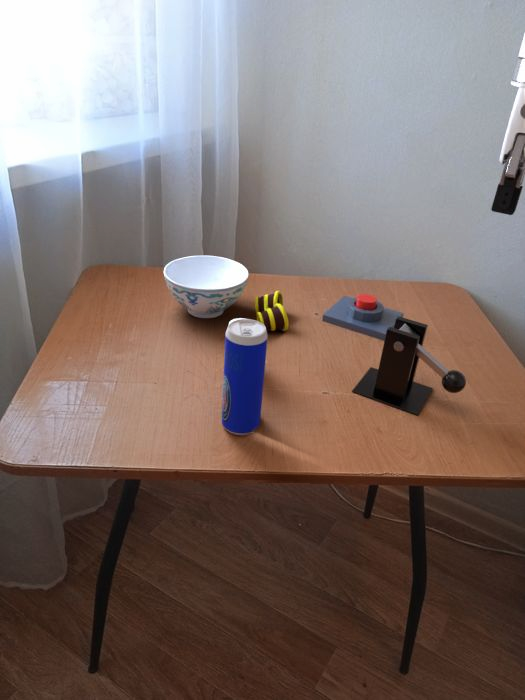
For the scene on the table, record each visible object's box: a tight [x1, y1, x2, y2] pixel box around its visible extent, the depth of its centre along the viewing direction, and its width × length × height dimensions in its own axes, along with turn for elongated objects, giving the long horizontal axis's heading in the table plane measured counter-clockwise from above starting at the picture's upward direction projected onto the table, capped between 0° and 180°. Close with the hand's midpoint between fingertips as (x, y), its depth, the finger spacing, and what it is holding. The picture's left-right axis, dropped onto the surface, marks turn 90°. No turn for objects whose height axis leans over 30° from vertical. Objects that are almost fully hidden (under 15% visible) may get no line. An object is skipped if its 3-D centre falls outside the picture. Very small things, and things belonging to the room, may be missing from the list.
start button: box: [356, 293, 378, 310], centre depth 101 cm, size 4×4×2 cm
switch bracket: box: [351, 316, 434, 417], centre depth 81 cm, size 10×8×12 cm
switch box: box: [322, 295, 405, 341], centre depth 102 cm, size 12×10×4 cm
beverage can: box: [221, 318, 269, 436], centre depth 72 cm, size 5×5×15 cm
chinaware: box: [163, 255, 249, 319], centre depth 102 cm, size 15×15×8 cm
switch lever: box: [399, 324, 467, 394], centre depth 79 cm, size 12×3×3 cm, turn 60°
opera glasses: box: [254, 290, 290, 332], centre depth 100 cm, size 10×5×5 cm, turn 5°
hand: (502, 211), depth 84 cm, fingers closed
